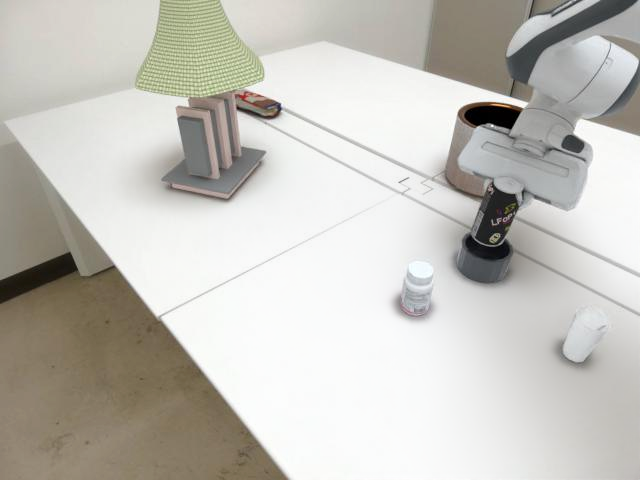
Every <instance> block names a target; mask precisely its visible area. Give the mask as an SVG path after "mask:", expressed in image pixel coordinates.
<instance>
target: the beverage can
mask: <svg viewBox="0 0 640 480" xmlns="http://www.w3.org/2000/svg"><path fill="white" fill-rule="evenodd" d="M523 197H524V192H523V184H522V182H521V181H520V180H518V179H516V178H514V177H512V176H508V175H500V176H497V177H496V178H495V179H494V181H492V182H491V183H490V184H489V185H488V187H487V189H486V192H485V194H484V197H482V200H481V201H482V202H481V201H480V204H481V205H480V204H479V208H478V211H477V213H476V216H475V218H474V221H473V224H472V227H471V229H470V232H471V235H472V237H473V238H474V239H475V240H476V241H477V242H479V243H480V244H483V245H486V246H498V245H500V244H502V243H503V242H504V239H505V238H506V237H507V235H508V234H509V231H510V229H511V226H512V225H513V222H514V220H515V219H514V217H515V215H516V213H517V211H518V209H519V207H520V204H521V202H522V201H523ZM517 214H518V213H517ZM516 216H517V215H516ZM515 218H516V217H515ZM513 219H514V220H513Z"/></svg>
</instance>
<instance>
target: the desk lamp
mask: <svg viewBox="0 0 640 480" xmlns="http://www.w3.org/2000/svg"><path fill="white" fill-rule="evenodd" d="M156 22H157V23H156V27H155V32H154V35H153V39H152V43H151V46H150V48H149V50H148V53H147V54H146V56H145V58H144V59H143V61H142V63H141V65H140V67H139V69H138V71H137V73H136V76H135V80H134V88H135V89H137V90H140V91H145V92H148V93H153V94H159V95H165V96H173V97H178V98H179V97H180V98H188V99H187V103H188V106H183V105H177V106H176V107H175V113H176V120H177V125H178V130H179V135H180V140H181V144H182V149H183V156H184V158H183V160H181V161H180V162H179V163H177V164H176V165H175V166H174V167H173V168H172V169H171V170H170V171H169V172H167V173H166V174H165V175H164V176H162V178H160V180H161V182H164V183H169V184H171V186H172V187H171V188H173V189H178V190H181V191H187V192H193V193H195V194H196V193H197V194H202V195H207V196H211V197H216V198H221V199H226V200H228V199H230V197H231V196H232V195H233V194H234V193H235V191H236V190H237V189H238V188H239V187H240V186H241V185H242V184H243V183H244V182H245V180H246V179H247V178H248V177H249V176H250V175H251V174H252V172H254V170H255V169H256V168H257V167H258V166H259V165H260V163H261V162H260V160H261V159H262V158H263V157H264V156H265V155H266V154H267V151H266V150H265V149H257V148H252V147H247V146H241V145H242V144H241V137H240V136H241V135H240V129H239V128H240V127H239V121H238V119H239V118H238V111H237V106H236V102H235V93H234V90H242V89H244V88H247V87H251V86H253V85H256V84H258V83H261V82H263V81H264V80H265V77H266V72H265V68H264V64H263V62H262V61H261V59H260V58H259V56H258V54H256V53H255V52H254V51H253V50H252V49H251V48H250V47H249V46H248V45H247V44H246V43H245V42H244V41H243V40H242V38H240V36H239V34H238V33H237V32H236V30H235V28H234V27H233V25H232V24H231V21H230V19H229V18H228V15H227V13H226V11H225V9H224V7H223V4H222V2H221V0H159V7H158V16H157V21H156Z"/></svg>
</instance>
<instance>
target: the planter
mask: <svg viewBox="0 0 640 480" xmlns="http://www.w3.org/2000/svg"><path fill="white" fill-rule="evenodd" d="M524 108H525V107H522V106H518V105H515V104H510V103H507V102H506V103H505V102H500V101H499V102H498V101H476V102H471V103H468V104H465V105H463V106H461V107H460V108H459V109H458V111H457V113H456V117H455V123H454V127H453V133H452V137H451V141H450V146H449V149H448V155H447V160H446V163H445V170H444V171H445V177H446V179H447V180H448V181H449V182H450V183H451V184H452V186H454V187H455V188H457V189H459V190H460V191H462V192H464V193H467V194H470V195H472V196H477V197H481V198H483V197H484V182H485V180H484V179H481V178H478V177H476V176H473V175H471V174H468V173H465V172H463V171H462V170H461V169H460V167H459V165H458V161H457V160H458V157H459V155H460V154H461V152H462V151H463V149H464V148H465V146H466V145H467V144H468V142H469V141H470V138H471V135H472V134H473V132H474V130H475V128H476V127H478V126H480V125H486V124H487V123H490V124H493V125H495V126H498V127H503V128H506V129H510V130H512V128H513V126H514V124H515V122H516V121H517V119H518V117H519V115H520V113H521V112H522V110H523V109H524ZM483 128H485V127H483Z"/></svg>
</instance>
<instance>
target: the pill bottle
mask: <svg viewBox="0 0 640 480" xmlns="http://www.w3.org/2000/svg"><path fill="white" fill-rule="evenodd" d="M434 272H435V270H434V267H433V266H432V265H431V264H430V263H429V262H426V261H424V260H415V261H411V262H410V263H409V264H408V266H407V271H406V273H405V274H404V276H403V281H402V289H401V295H400V301H399V302H400V303H399V304H400V305H399V306H400V308H401V310H403V311H404V312H405V313H407V314H408V315H411V316H422V315H424V314H426V313H427V312H428V310H429V308H430V304H431V298H432V293H433V289H434V285H435V281H434V280H435V279H434Z"/></svg>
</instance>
